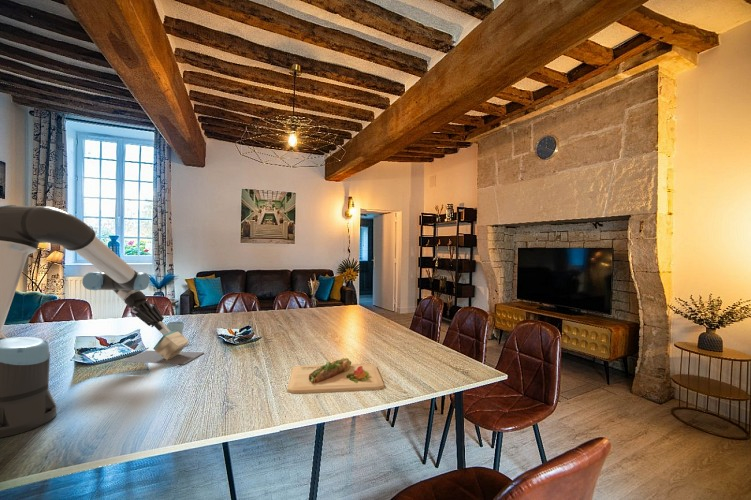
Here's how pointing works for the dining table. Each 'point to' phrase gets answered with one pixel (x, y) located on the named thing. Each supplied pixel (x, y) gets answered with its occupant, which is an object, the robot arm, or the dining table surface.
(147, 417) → the dining table surface
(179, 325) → the cup
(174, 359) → the rubber mat
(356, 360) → the dining table surface
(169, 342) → the maple cube
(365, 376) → the cutting board
